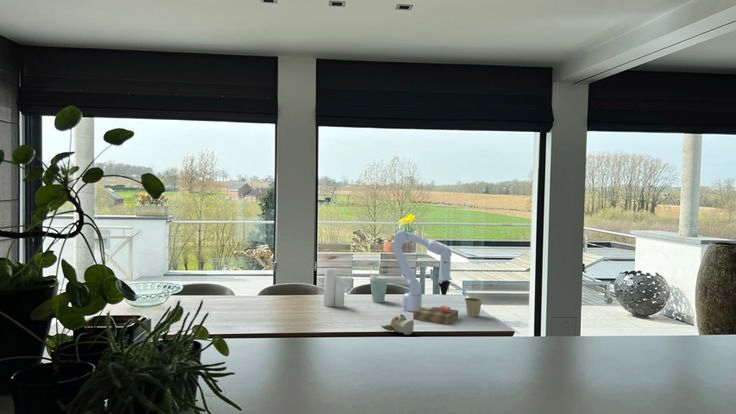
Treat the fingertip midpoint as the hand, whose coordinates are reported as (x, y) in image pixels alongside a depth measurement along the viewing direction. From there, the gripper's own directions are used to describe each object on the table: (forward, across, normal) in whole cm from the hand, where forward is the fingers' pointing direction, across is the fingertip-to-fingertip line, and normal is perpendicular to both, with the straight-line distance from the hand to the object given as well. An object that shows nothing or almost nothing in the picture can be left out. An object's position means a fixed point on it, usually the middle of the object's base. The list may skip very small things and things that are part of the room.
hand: (443, 294), depth 296 cm
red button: (+8, -16, -7) cm, 19 cm away
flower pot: (+10, +2, -16) cm, 19 cm away
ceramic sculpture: (+10, -51, +2) cm, 52 cm away
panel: (+9, -16, -2) cm, 19 cm away
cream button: (+9, -16, +2) cm, 19 cm away
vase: (+10, -22, +55) cm, 60 cm away
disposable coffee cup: (+10, +2, +40) cm, 41 cm away
